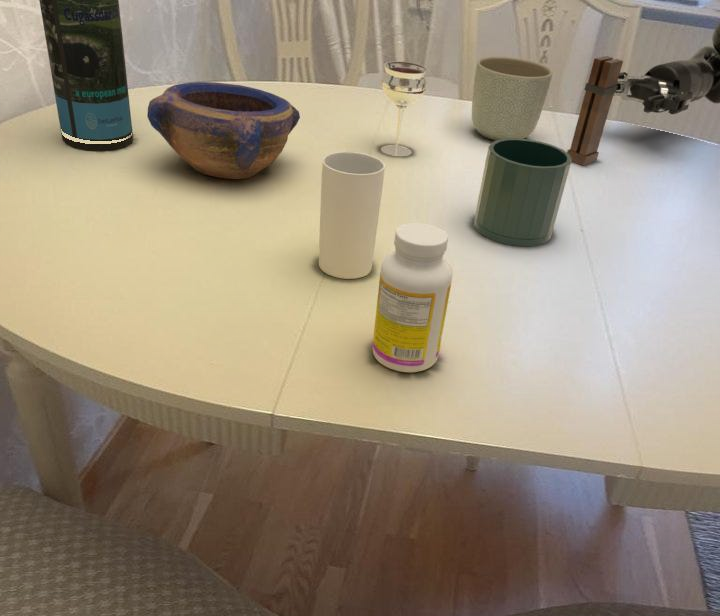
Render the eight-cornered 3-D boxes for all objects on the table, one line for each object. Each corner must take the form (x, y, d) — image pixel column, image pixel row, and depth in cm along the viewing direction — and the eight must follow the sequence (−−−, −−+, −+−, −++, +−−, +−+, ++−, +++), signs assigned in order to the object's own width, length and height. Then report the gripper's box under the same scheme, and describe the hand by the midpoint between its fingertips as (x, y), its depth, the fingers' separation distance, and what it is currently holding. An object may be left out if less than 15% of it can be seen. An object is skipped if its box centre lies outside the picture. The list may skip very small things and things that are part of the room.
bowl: (313, 164, 112) (317, 91, 106) (251, 203, 100) (250, 123, 93) (210, 137, 117) (208, 66, 110) (138, 171, 104) (130, 93, 98)
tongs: (578, 154, 127) (605, 55, 117) (596, 161, 125) (625, 61, 115) (565, 159, 124) (591, 57, 114) (583, 165, 123) (612, 63, 113)
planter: (520, 154, 124) (536, 82, 117) (453, 135, 128) (464, 64, 121) (546, 136, 132) (563, 68, 125) (483, 119, 137) (495, 52, 129)
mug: (360, 286, 85) (370, 179, 77) (306, 271, 87) (311, 164, 79) (392, 252, 92) (404, 152, 84) (342, 239, 94) (349, 139, 86)
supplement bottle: (406, 332, 79) (424, 212, 70) (450, 362, 75) (475, 239, 67) (357, 350, 75) (369, 226, 67) (401, 383, 72) (420, 256, 63)
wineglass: (366, 147, 120) (373, 63, 112) (396, 140, 124) (406, 59, 116) (395, 161, 116) (405, 76, 108) (426, 154, 120) (438, 71, 112)
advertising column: (93, 121, 117) (60, -124, 97) (153, 138, 114) (131, -112, 94) (41, 140, 110) (-8, -123, 90) (103, 158, 106) (67, -109, 86)
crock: (542, 216, 105) (561, 142, 99) (558, 249, 98) (580, 171, 91) (468, 210, 105) (483, 135, 98) (479, 243, 97) (496, 164, 90)
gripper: (643, 52, 134) (594, 61, 125) (717, 73, 127) (671, 84, 118) (629, 97, 139) (581, 110, 130) (700, 120, 132) (654, 135, 123)
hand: (624, 98), depth 124 cm, fingers open, 8 cm apart
